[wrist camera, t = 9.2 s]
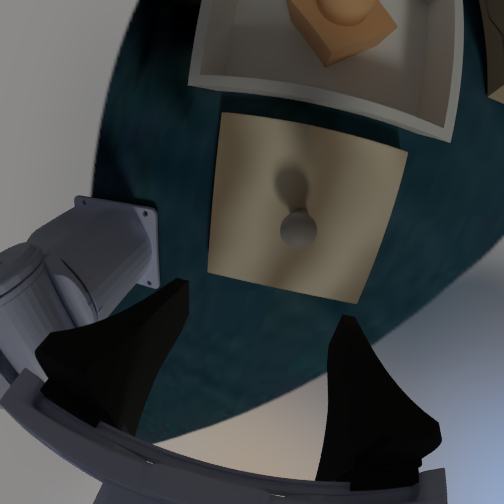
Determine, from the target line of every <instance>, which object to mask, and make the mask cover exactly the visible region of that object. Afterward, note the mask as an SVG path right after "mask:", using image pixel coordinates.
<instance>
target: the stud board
mask: <svg viewBox="0 0 504 504" xmlns="http://www.w3.org/2000/svg"><path fill="white" fill-rule="evenodd" d="M407 155H408V152H405V151H403V150H401V149H398V148H395V147H392V146H389V145H386V144H382V143H379V142H376V141H372V140H369V139H365V138H362V137H358V136H355V135H351V134H347V133H343V132H339V131H335V130H331V129H326V128H322V127H317V126H313V125H308V124H303V123H298V122H292V121H287V120H281V119H275V118H269V117H262V116H255V115H247V114H239V113H230V112H222V116H221V125H220V133H219V142H218V151H217V161H216V171H215V181H214V192H213V203H212V215H211V228H210V242H209V257H208V272H209V273H213V274H218V275H222V276H226V277H231V278H235V279H239V280H244V281H248V282H253V283H257V284H262V285H266V286H271V287H276V288H280V289H285V290H290V291H294V292H299V293H304V294H309V295H314V296H319V297H324V298H329V299H334V300H339V301H344V302H349V303H354V304H357V302H358V300H359V297H360V295H361V293H362V290H363V288H364V286H365V283H366V281H367V278H368V276H369V273H370V271H371V268H372V266H373V263H374V261H375V258H376V255H377V253H378V250H379V247H380V244H381V242H382V239H383V236H384V233H385V230H386V227H387V224H388V221H389V218H390V215H391V212H392V209H393V206H394V202H395V199H396V196H397V192H398V189H399V185H400V182H401V178H402V175H403V171H404V167H405V163H406V159H407Z"/></svg>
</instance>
